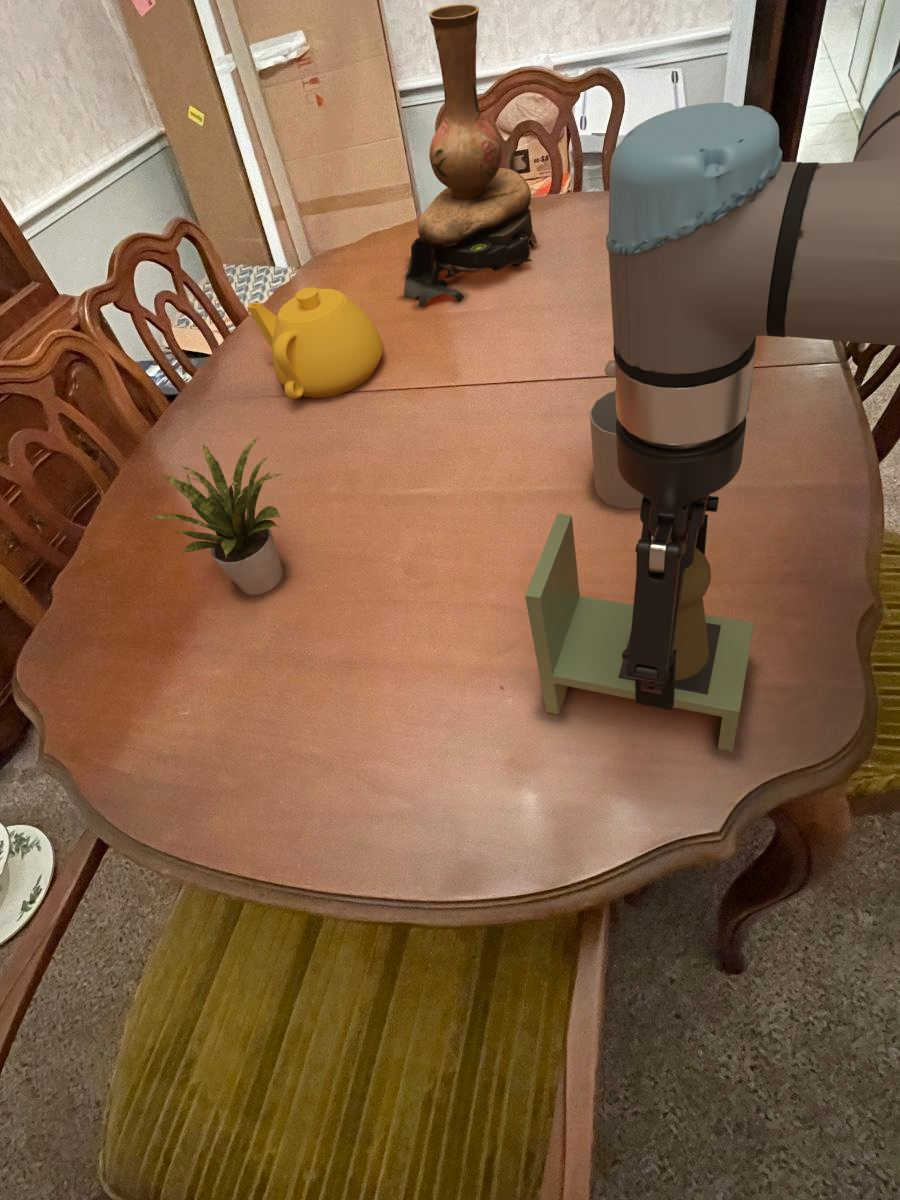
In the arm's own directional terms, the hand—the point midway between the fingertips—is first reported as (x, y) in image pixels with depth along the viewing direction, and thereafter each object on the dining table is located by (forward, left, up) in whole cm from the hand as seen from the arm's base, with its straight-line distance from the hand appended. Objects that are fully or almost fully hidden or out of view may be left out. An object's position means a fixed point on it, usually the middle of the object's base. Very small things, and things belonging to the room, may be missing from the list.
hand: (671, 633), depth 60 cm
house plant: (+46, -6, -9) cm, 47 cm away
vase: (+47, -78, -9) cm, 92 cm away
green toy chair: (+2, 0, -9) cm, 9 cm away
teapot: (+60, -45, -9) cm, 76 cm away
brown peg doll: (0, 0, -2) cm, 2 cm away
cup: (+9, -27, -9) cm, 30 cm away
